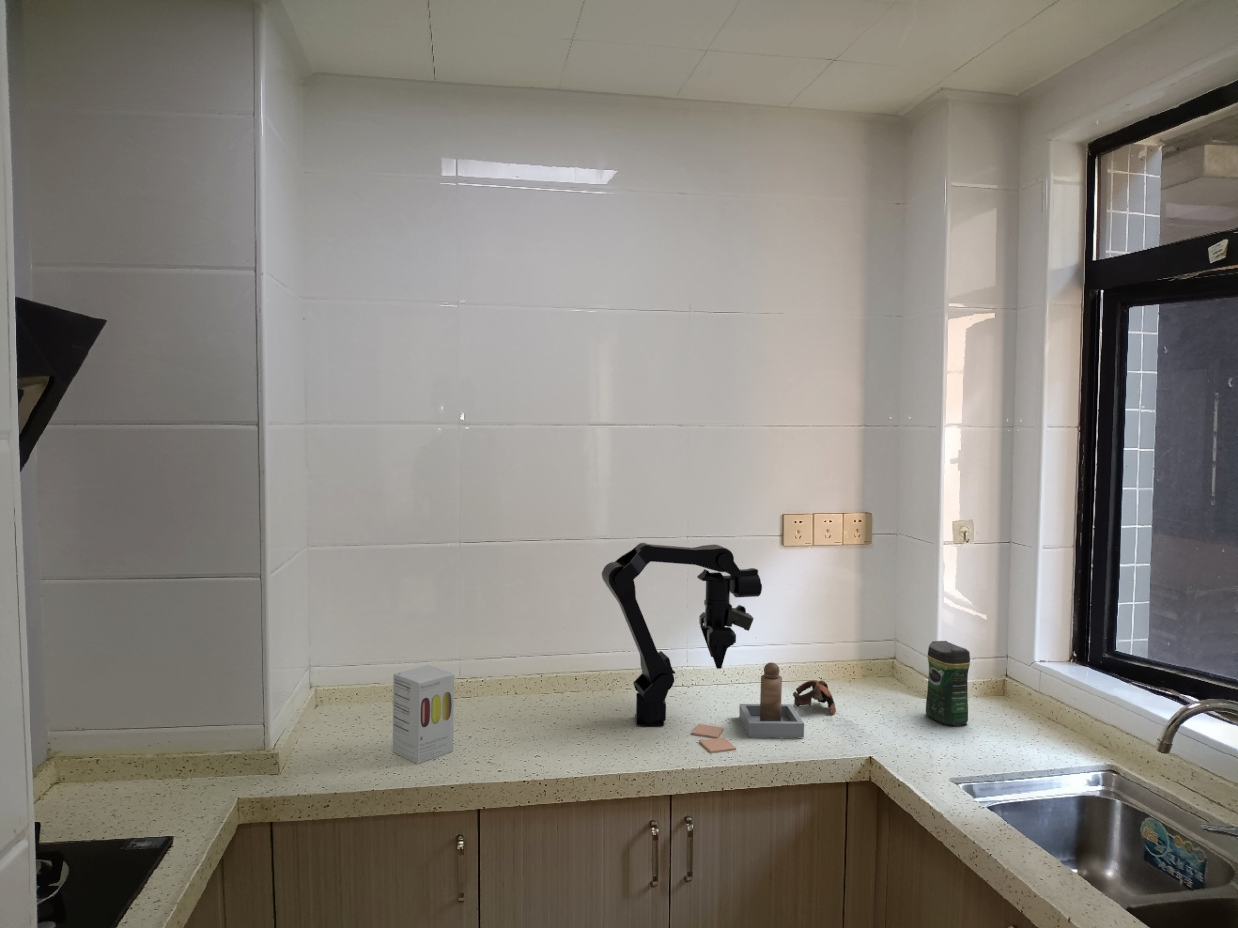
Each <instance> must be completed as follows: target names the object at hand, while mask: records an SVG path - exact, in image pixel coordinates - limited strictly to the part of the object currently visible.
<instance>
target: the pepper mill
mask: <svg viewBox="0 0 1238 928" xmlns="http://www.w3.org/2000/svg"><path fill="white" fill-rule="evenodd" d="M782 686H783V677H782V676H781V675H780V667H779V665H778V664H777V663H775V662H768V663H766V664H765V665H764V667H763V674H762V675H760V693H759V694H760V697H759V698H760V701H759V704H760V721H781V704H782V693H783V692H782V690H783V689H782V688H783V687H782Z"/></svg>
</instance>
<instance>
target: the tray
mask: <svg viewBox="0 0 1238 928" xmlns="http://www.w3.org/2000/svg"><path fill="white" fill-rule="evenodd" d="M738 708H739V709H738V710H739V716H738V717H739V720H740V722H741V724H742V726H743V728H744V730H745V732H746V734H747V737H748V738H755V739H757V738H758V739H759V738H763V739H765V738H766V739H767V738H768V739H778V738H777V737H804V738H805V723H804V721H803V720H802V718H801V717H800V715H799V713H798V712H797V711H796V708H794V707H793V705H792V703H781V721H760V703H739V707H738ZM771 737H773V738H771ZM774 737H775V738H774Z"/></svg>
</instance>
